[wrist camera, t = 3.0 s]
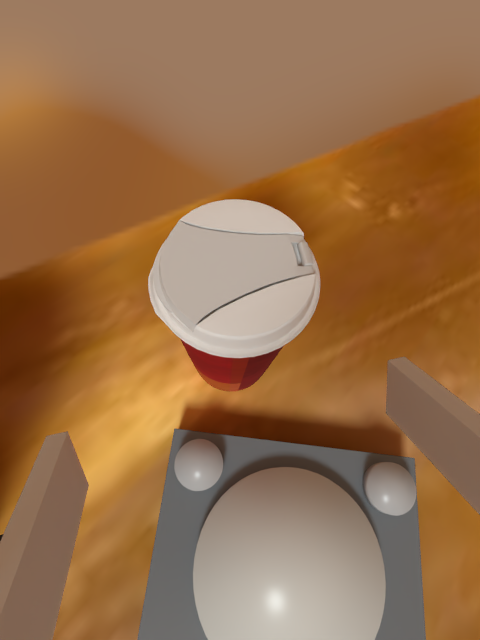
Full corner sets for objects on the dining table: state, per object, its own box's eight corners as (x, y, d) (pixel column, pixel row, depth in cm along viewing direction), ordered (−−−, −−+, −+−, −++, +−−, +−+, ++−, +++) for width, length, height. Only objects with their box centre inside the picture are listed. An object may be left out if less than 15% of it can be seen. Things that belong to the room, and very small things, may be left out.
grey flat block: (400, 459, 26) (422, 457, 23) (413, 720, 21) (442, 758, 18) (178, 431, 26) (172, 427, 24) (134, 685, 21) (120, 718, 18)
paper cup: (268, 304, 30) (302, 180, 17) (290, 396, 28) (350, 331, 15) (173, 319, 30) (135, 201, 17) (186, 415, 27) (152, 364, 14)
